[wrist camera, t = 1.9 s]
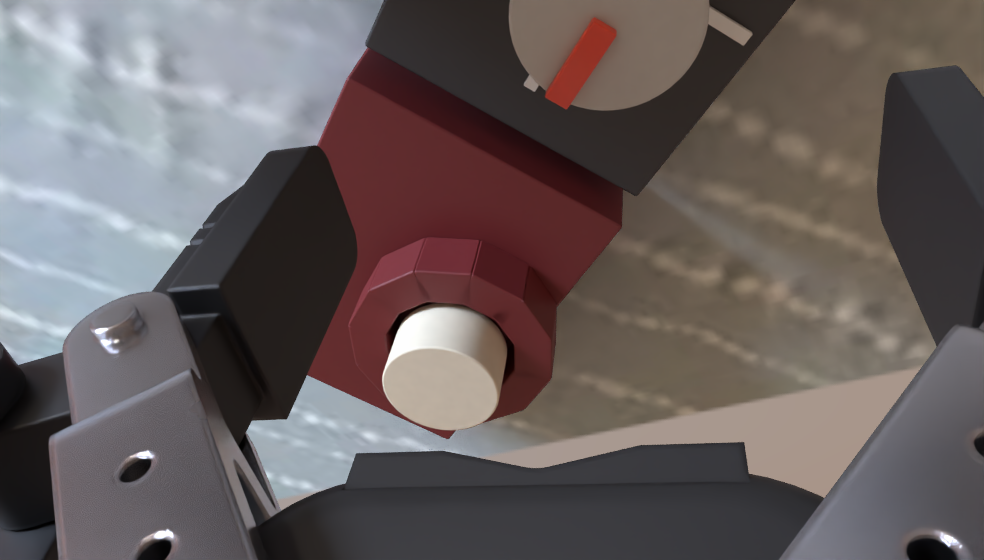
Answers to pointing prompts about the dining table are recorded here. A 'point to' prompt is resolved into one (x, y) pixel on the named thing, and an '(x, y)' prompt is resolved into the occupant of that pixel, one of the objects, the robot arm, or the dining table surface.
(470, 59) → the panel
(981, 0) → the dining table surface
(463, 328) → the button
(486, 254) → the red button box
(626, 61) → the timer knob
